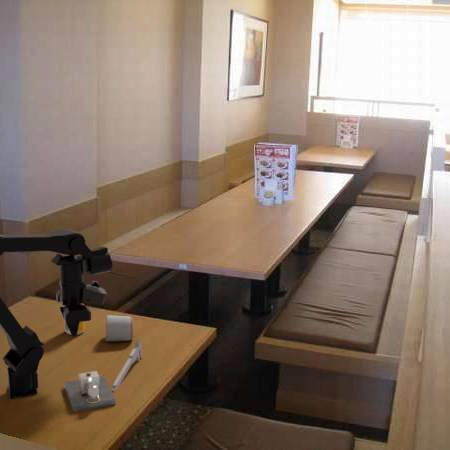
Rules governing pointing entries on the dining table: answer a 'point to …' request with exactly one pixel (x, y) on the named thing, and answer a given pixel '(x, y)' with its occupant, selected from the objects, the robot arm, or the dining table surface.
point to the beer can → (80, 328)
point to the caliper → (129, 364)
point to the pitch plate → (82, 398)
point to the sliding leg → (88, 380)
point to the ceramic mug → (119, 328)
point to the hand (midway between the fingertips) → (74, 335)
